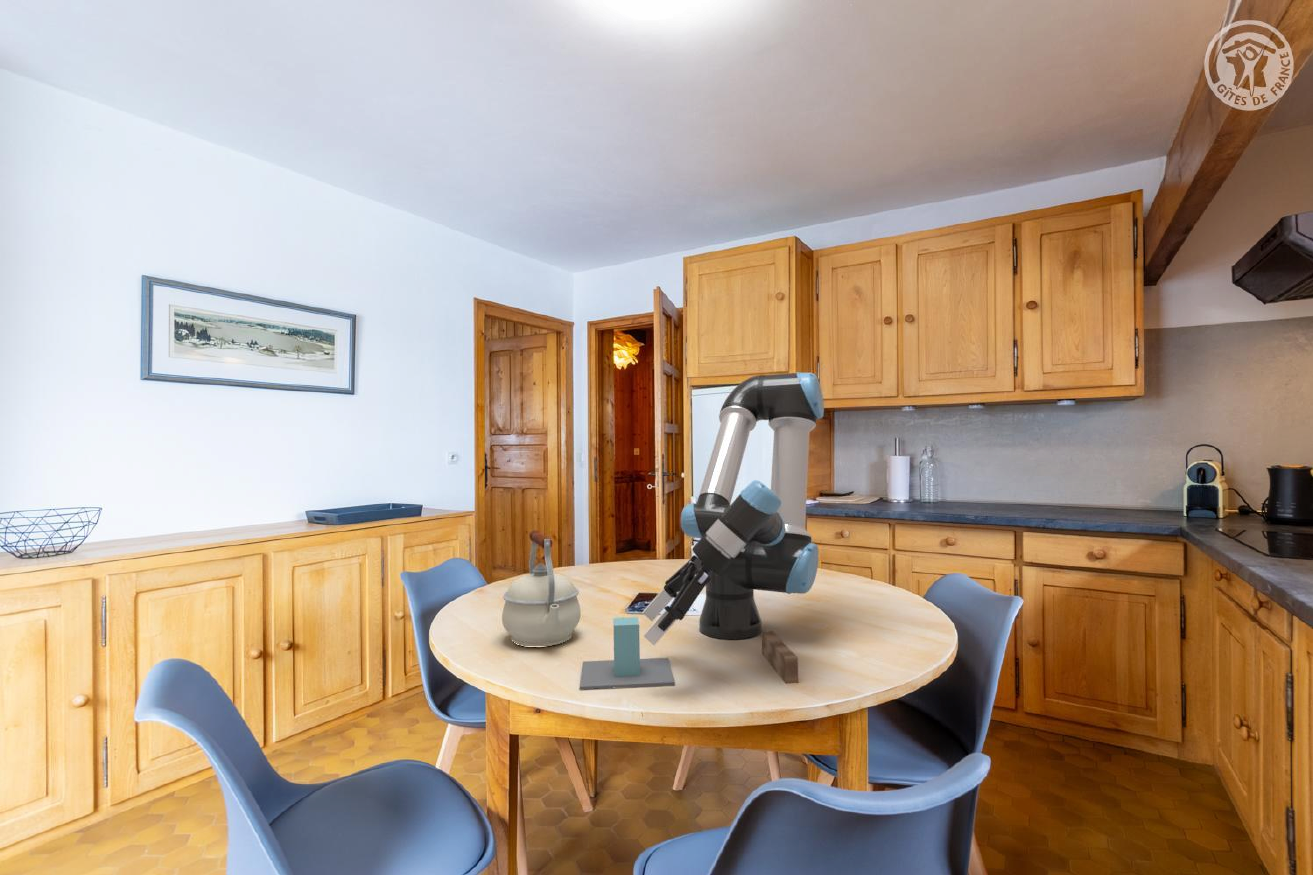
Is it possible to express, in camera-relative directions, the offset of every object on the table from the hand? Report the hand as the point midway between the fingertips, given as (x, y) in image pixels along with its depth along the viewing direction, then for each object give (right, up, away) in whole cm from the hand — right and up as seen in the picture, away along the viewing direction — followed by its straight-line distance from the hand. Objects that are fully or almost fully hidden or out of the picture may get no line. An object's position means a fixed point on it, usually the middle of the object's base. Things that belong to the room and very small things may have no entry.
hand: (647, 627), depth 119 cm
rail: (+27, -9, +3) cm, 28 cm away
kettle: (-25, -10, +22) cm, 35 cm away
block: (-4, -9, +1) cm, 10 cm away
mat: (-4, -9, +1) cm, 10 cm away
